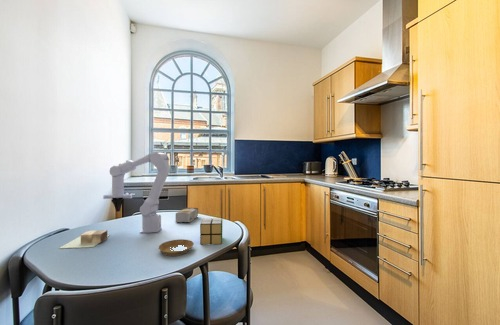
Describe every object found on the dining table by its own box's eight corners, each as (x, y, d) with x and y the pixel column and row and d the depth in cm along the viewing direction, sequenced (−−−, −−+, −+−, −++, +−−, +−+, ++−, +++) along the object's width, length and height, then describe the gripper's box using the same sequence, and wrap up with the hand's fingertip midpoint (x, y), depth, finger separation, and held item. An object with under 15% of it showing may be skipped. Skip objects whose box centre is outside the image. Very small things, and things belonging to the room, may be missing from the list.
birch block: (107, 230, 115) (87, 230, 114) (101, 234, 109) (80, 234, 108) (107, 238, 115) (87, 238, 114) (101, 242, 109) (80, 243, 108)
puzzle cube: (202, 237, 118) (202, 218, 117) (222, 237, 118) (222, 218, 118) (200, 245, 108) (200, 223, 107) (221, 244, 108) (221, 223, 108)
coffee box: (175, 212, 144) (185, 207, 160) (175, 222, 144) (185, 216, 160) (189, 213, 143) (198, 207, 159) (189, 223, 143) (198, 216, 159)
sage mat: (109, 235, 120) (109, 234, 120) (93, 247, 104) (93, 246, 104) (80, 236, 118) (80, 235, 118) (59, 248, 102) (59, 248, 102)
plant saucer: (171, 261, 91) (171, 255, 91) (151, 252, 100) (151, 246, 100) (200, 249, 103) (200, 244, 103) (180, 242, 111) (180, 237, 111)
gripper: (100, 188, 124) (100, 213, 125) (128, 187, 126) (128, 212, 127) (106, 186, 131) (106, 210, 132) (133, 186, 133) (133, 209, 134)
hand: (118, 211), depth 130 cm, fingers closed
